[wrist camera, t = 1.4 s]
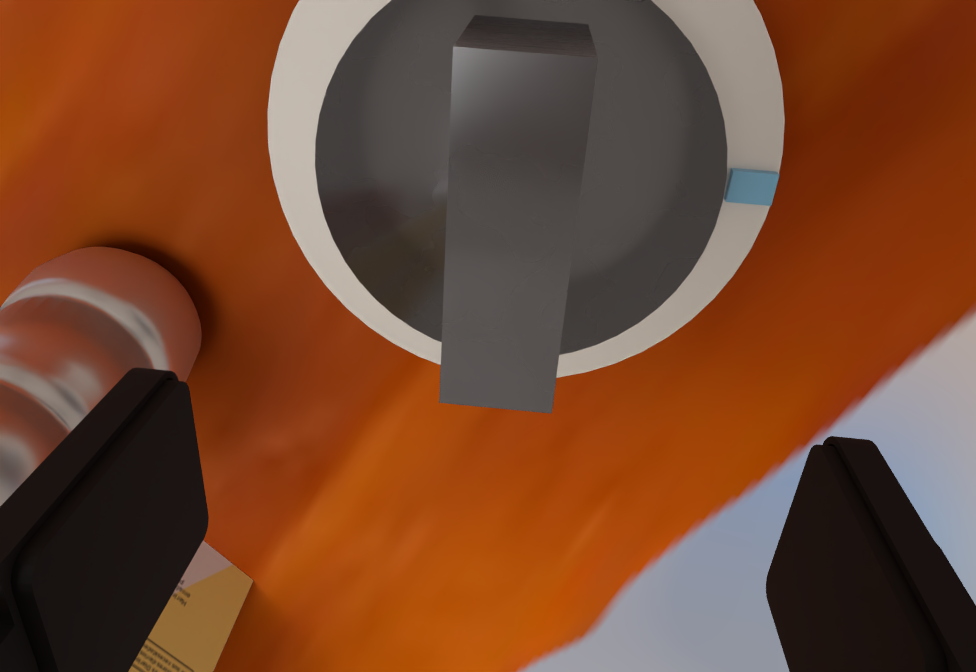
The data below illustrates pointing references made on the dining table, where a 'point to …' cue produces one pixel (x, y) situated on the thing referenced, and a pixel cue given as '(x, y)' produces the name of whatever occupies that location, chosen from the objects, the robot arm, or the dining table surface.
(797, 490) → the robot arm
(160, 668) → the pasta box
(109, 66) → the dining table surface
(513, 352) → the dial knob
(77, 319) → the plastic bottle
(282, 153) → the dial housing
